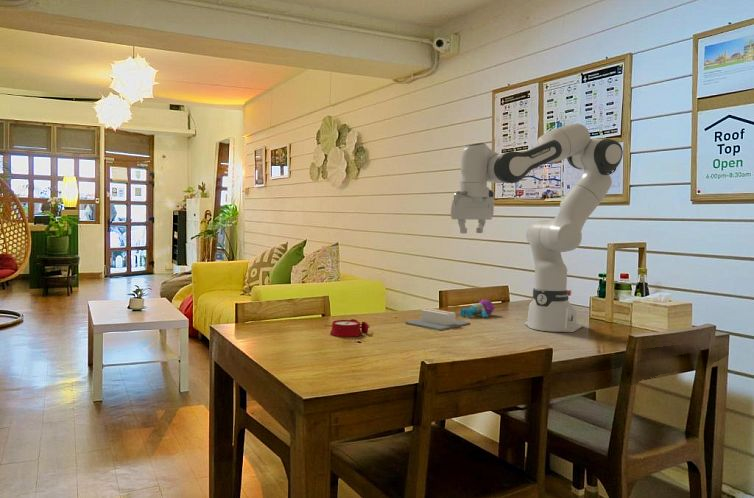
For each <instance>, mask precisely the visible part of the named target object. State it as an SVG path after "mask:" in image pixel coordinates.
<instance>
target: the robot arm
mask: <svg viewBox="0 0 754 498" xmlns="http://www.w3.org/2000/svg"><path fill="white" fill-rule="evenodd" d="M590 135H591V134H590V132H589V130H588V128H587V127H586V126H585V125H583V124H581V123H572V124H571V123H570V124H567V125H562V126H559V127H556V128H553V129H551V130H549V131H546V132H545V133H544V134H542V135H540V136H539V137H538V139H537V142H536V146H535V147H533V148H530V149H528V150H525V151H522V152H520V151H508V152H506V153H499V152H496V151H495V150H493V149H491V148H490V147H489V146H488V145H487V143H484V142H479V143H472V144H468V145H466V146H464V147H463V149H462V153H461V160H460V161H461V162H460V173H461V177H460V178H461V179H460V183H459V190H458V191H456V192H455V193H454V195H453V198H452V202H451V208H450V217H451V219H452V220H457V223H458V226H459V232H460V234H467V233H468V232H467V231H468V228H467V227H466V223H467V220H470V221H471V220H472V221H473V220H475V221H476V220H477V223H478V225H477V227H475V228H476V229H475V230H476V231H475V232H476V233H477V234H483V233H484V228H485V225H486V220H492V219H493V217H494V208H495V205H494V204H495V202H494V198H495V195H496V193H495V191H493V190H492V189H491V188H489V187H488V186H487V185H488V183H491V184H505V183H506V184H517V183H518V182H520V181H521V180H523V179H524V178H525V177H526V176H527V175H528V174H529V173H530V172H531V171H533V170H534V169H537V168H538V167H540V166H543V165H545V164H553V163H556V162H560V161H563V160H566V159H567V162H568V164H569V165H570V167H572V168H574V169H578V170H583V171H582V175H581V176H580V178H579V179H578V181H577V182H575V184H573V186H572V187H571V188H570V189H569V191H568V192H567V193H566V195H564V197H563V198H562V199H561V201H560V202H559V208H560V209H559V210H558V213H557V214H556V216H555V217H554V218H553V219H540V220H536V221H534V222H532V223H531V224H529V225H528V226H527V229H526V232H525V237H526V241H527V242H528V244H529V246H530V248H531V253H532V256H533V258H532V259H533V261H534V262H533V263H534V288H533V289H532V299H533V300H532V301H531V302H530V303H529V307H528V312H527V313H528V316H527V320H526V321H524V325H526V326H527V327H528V328H530V329H532V330H537V331H542V332H543V331H544V332H554V333H555V332H556V333H559V332H564V333H574V332H576V331H577V330H579V329H580V328H582V327H583V326H584V325H583V323H582V322H578V321H577V309H575V307H574V306H573V305H572V304H571V302H570V301H569V299H570V298H569V296H571V295H572V290H571V289H569V290H568V289H567V281H568V280H567V279H568V269H567V268H568V267H567V265H566V264H565V262H564V260H563V257H562V253H565V252H571V251H574V250H576V249H577V248H578V247H580V245H581V243H582V240H583V237H582V236H583V235H582V230H583V227H584V225H585V224H586V221H587V220H588V219H589V217H590V216H591V215H592V213H594V211H595V210H596V208H597V207H598V206H599V205H600V204H601V202H602V201H603V199H605V197H606V195H607V194H608V191H609V190H610V188H611V186H612V177H611V175H612V174H614V173H615V171H616V170H617V168H618V167H619V165H620V164H621V161H622V158H623V155H624V151H623V147H622V145H621V143H620V142H618V141H616V140H614V139H610V138H591V136H590Z"/></svg>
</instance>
